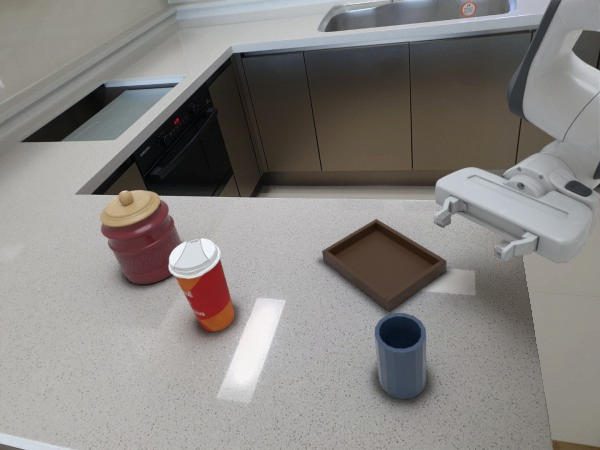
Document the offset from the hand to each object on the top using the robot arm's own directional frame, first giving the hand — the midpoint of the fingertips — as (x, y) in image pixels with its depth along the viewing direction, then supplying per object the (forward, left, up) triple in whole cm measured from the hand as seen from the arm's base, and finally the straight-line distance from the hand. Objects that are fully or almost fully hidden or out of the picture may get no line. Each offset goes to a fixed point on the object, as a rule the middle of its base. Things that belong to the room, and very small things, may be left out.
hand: (466, 237), depth 58 cm
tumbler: (0, +12, -18) cm, 22 cm away
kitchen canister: (+52, +30, -18) cm, 63 cm away
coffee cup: (+29, +27, -18) cm, 44 cm away
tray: (+19, -2, -18) cm, 26 cm away
